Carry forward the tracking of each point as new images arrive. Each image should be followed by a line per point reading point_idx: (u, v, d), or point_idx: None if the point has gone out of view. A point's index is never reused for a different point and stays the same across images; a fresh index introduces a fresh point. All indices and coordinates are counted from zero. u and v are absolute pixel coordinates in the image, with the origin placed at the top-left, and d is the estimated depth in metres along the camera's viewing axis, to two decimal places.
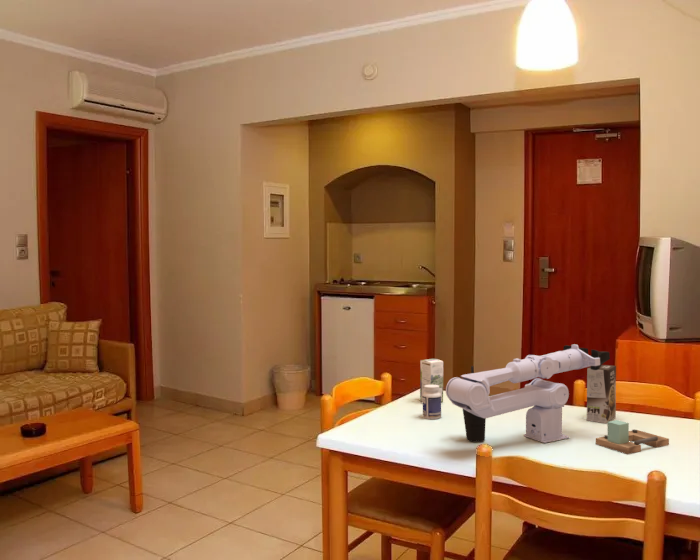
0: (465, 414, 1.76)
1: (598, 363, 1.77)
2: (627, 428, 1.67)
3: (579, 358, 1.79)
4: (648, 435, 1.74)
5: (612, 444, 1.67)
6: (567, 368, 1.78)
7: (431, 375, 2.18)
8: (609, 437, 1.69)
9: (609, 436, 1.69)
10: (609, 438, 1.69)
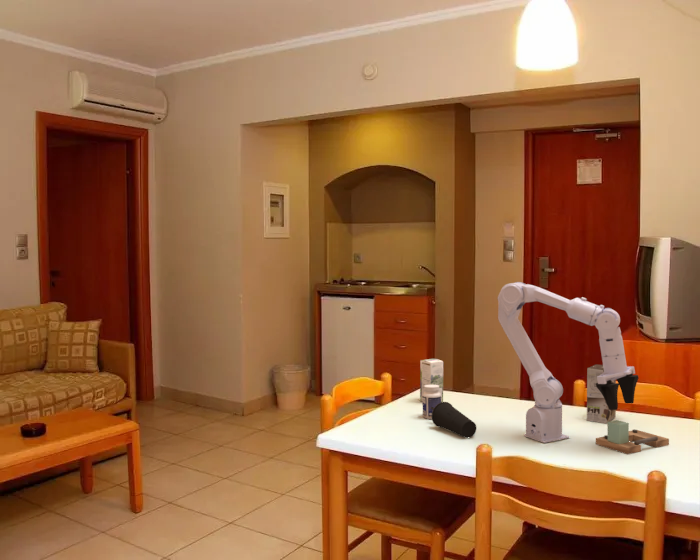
0: (445, 424, 1.84)
1: (599, 381, 1.66)
2: (627, 428, 1.67)
3: (611, 369, 1.68)
4: (648, 435, 1.74)
5: (612, 444, 1.67)
6: (605, 353, 1.69)
7: (431, 375, 2.18)
8: (609, 437, 1.69)
9: (609, 436, 1.69)
10: (609, 438, 1.69)
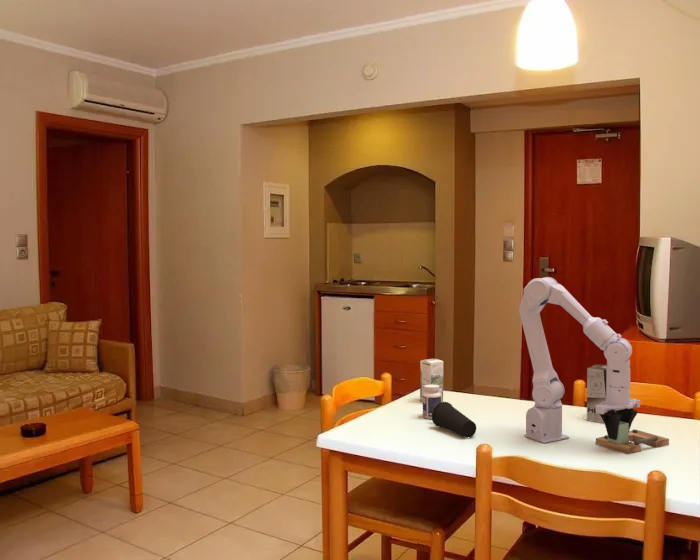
0: (445, 424, 1.84)
1: (597, 410, 1.65)
2: (627, 428, 1.67)
3: (612, 400, 1.66)
4: (648, 435, 1.74)
5: (612, 444, 1.67)
6: (610, 383, 1.67)
7: (431, 375, 2.18)
8: None
9: None
10: (609, 438, 1.69)
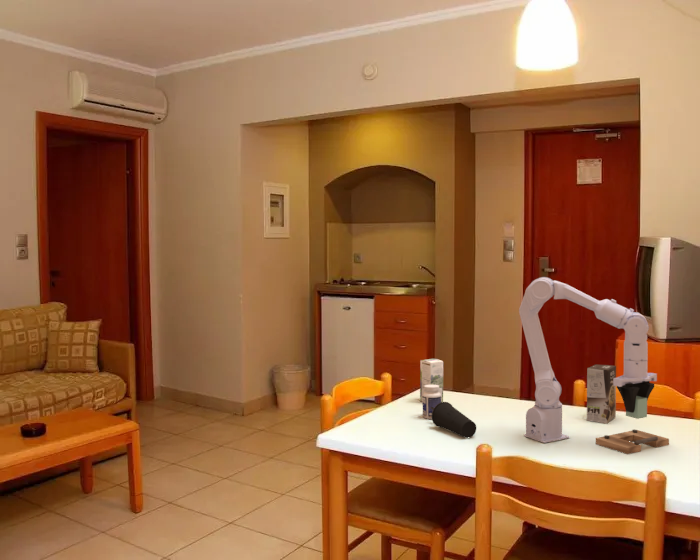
0: (445, 424, 1.84)
1: (614, 383, 1.67)
2: (645, 403, 1.69)
3: (630, 373, 1.68)
4: (648, 435, 1.74)
5: (612, 444, 1.67)
6: (629, 356, 1.68)
7: (431, 375, 2.18)
8: (627, 412, 1.70)
9: None
10: (627, 413, 1.70)
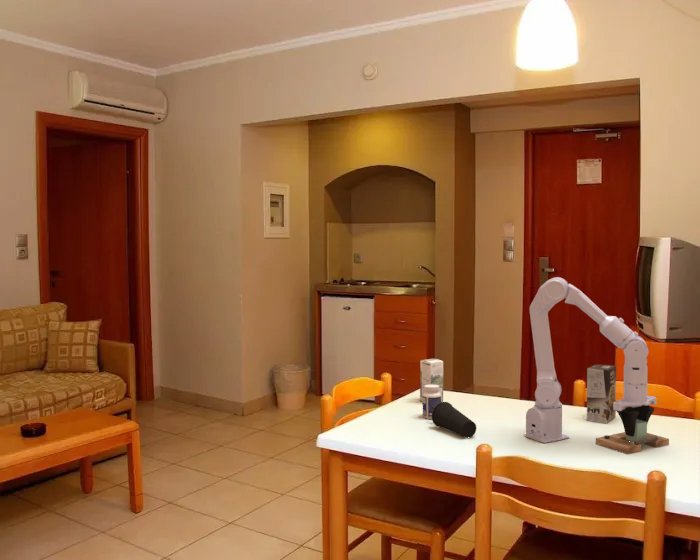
0: (445, 424, 1.84)
1: (614, 407, 1.67)
2: (645, 426, 1.69)
3: (629, 397, 1.68)
4: (648, 435, 1.74)
5: (612, 444, 1.67)
6: (629, 380, 1.68)
7: (431, 375, 2.18)
8: (627, 436, 1.70)
9: (627, 435, 1.70)
10: (627, 437, 1.70)
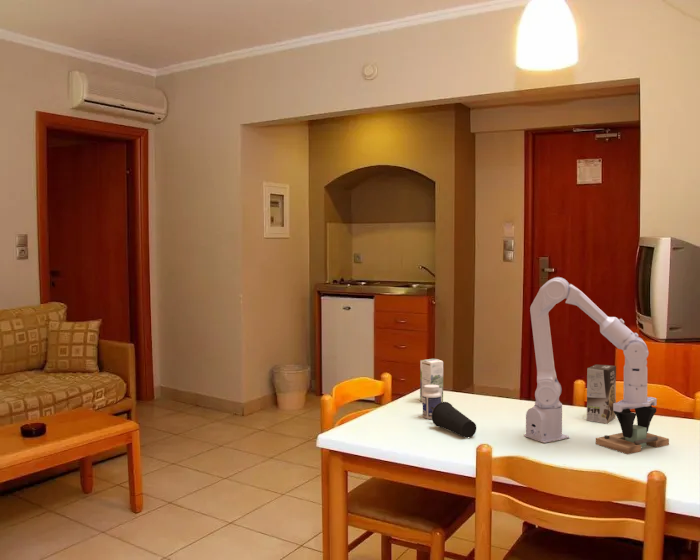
0: (445, 424, 1.84)
1: (614, 408, 1.67)
2: (644, 432, 1.69)
3: (629, 398, 1.68)
4: (648, 435, 1.74)
5: (612, 444, 1.67)
6: (629, 381, 1.68)
7: (431, 375, 2.18)
8: None
9: (627, 440, 1.70)
10: None
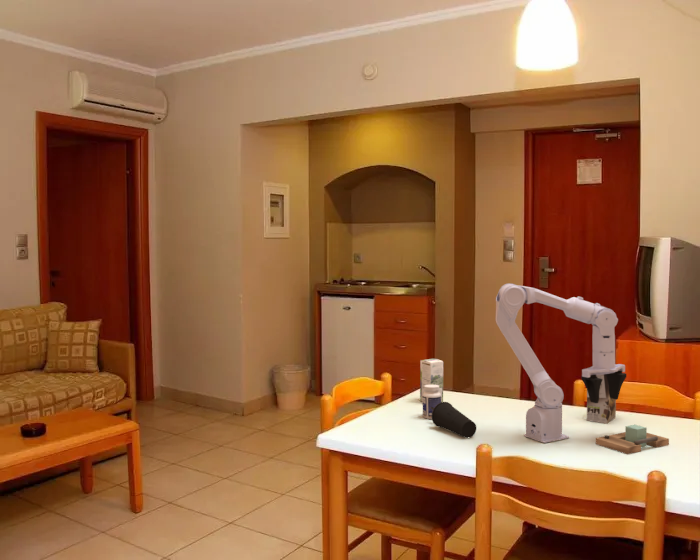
0: (445, 424, 1.84)
1: (583, 374, 1.73)
2: (644, 432, 1.69)
3: (598, 365, 1.75)
4: (648, 435, 1.74)
5: (612, 444, 1.67)
6: (600, 349, 1.74)
7: (431, 375, 2.18)
8: None
9: (627, 440, 1.70)
10: None
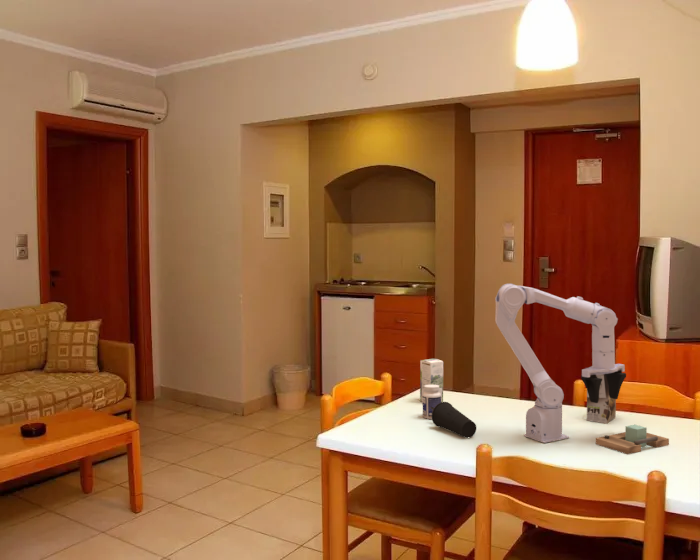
0: (445, 424, 1.84)
1: (583, 374, 1.73)
2: (644, 432, 1.69)
3: (597, 364, 1.75)
4: (648, 435, 1.74)
5: (612, 444, 1.67)
6: (600, 348, 1.74)
7: (431, 375, 2.18)
8: None
9: (627, 440, 1.70)
10: None
